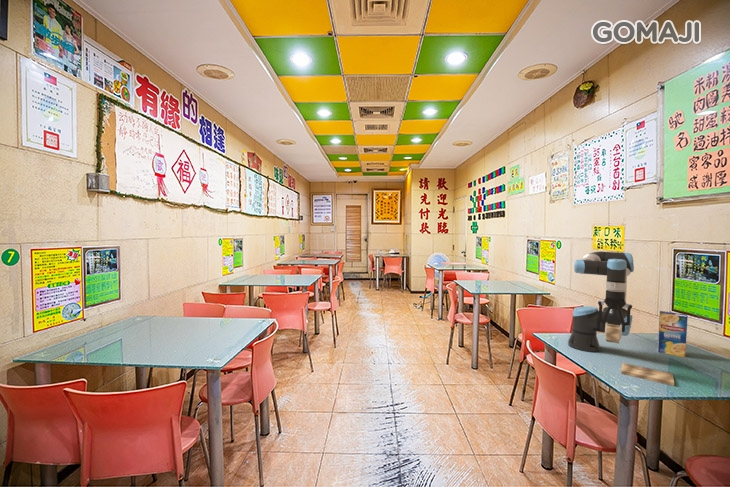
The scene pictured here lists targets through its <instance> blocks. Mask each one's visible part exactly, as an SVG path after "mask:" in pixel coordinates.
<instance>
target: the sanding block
mask: <svg viewBox="0 0 730 487" xmlns="http://www.w3.org/2000/svg"><path fill="white" fill-rule="evenodd" d="M619 336H620V326H619V325H613V324H608V325H607V331H606V336H605V342H609V343H614V344H619V343H620V340H621V339H619Z"/></svg>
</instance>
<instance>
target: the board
mask: <svg viewBox="0 0 730 487" xmlns="http://www.w3.org/2000/svg"><path fill="white" fill-rule="evenodd" d="M620 370H621V371H620V373H621V375H626V376H630V377H634V378H637V379H638V378H639V379H643V380H647V381H651V382H656V383H660V384H664V385H667V386H672V387H674V386H675V379H674V376H673V373H671V372H666V371H662V370H657V369H654V368H648V367H644V366H639V365H634V364H630V363H627V362H626V363H625V362H622V363H621V369H620Z"/></svg>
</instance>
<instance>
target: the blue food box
mask: <svg viewBox="0 0 730 487" xmlns="http://www.w3.org/2000/svg"><path fill="white" fill-rule="evenodd" d="M658 318H659V320H658V321H659V322H658V339H657V352H658V353H662V354H667V355H671V356H672V355H673V356H677V357H682V358H683V357H684V358H686V349H687V332H688V331H687V330H688V314H686V313H680V312H679V313H678V312H671V311H664V310H659V317H658Z"/></svg>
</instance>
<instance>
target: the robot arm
mask: <svg viewBox="0 0 730 487" xmlns="http://www.w3.org/2000/svg"><path fill="white" fill-rule="evenodd" d="M573 268H574V269H573V271H574V273H576V274H581V275H593V276H594V275H597V276H604V277H605V276H606V281H605V282H606V283H605V284H606V285H605V298H604V300H598V301H597V304H598V307H595V306H586V305H584V306H576V307H574V309H573V310H572V311H573V312H572V327H571V328H572V329H571V333H570V336H569V338H568V340H567V341H568V342H567V344H568V345H567V346H569V347H570V348H573V349H575V350H579V351H583V352H591V353H597V352H599V351H600V349H601V346H600V343H599V339H598V337H597V336H598V335H597V333H598V332H599V333H602V334H603V333H604V336H605V337H606V331H607V325H608V324H613V325H619V326H620V336H619V339H620V340H621V339H622V338H623V337H627V336H629V334H630V332H631V327H632V322H633V315H631V310H632V307H633V305H632V304H629V303H627V290H628V289H627V287H628V286H627V284H628V277H629V276H630V275H631V273H634V270H635V266H634V258H633V254H631V253H630V252H623V251H622V252H619V251H617V252H616V251H602V250H601V251H594V252H590V253H587V254H585V255H584V256H583V257H582V259H575V260H574V267H573ZM604 304H605V305H606V306H604ZM603 306H604V307H603ZM622 336H623V337H622Z"/></svg>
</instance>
